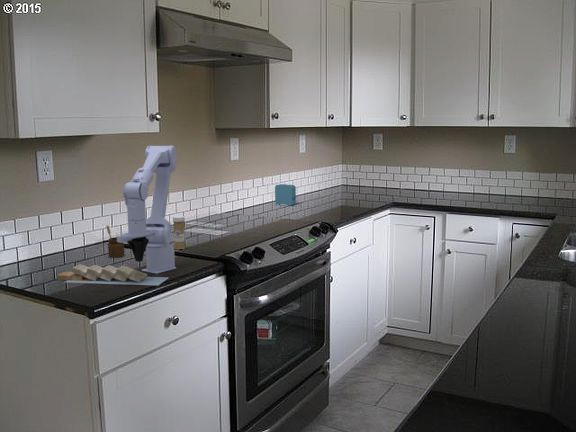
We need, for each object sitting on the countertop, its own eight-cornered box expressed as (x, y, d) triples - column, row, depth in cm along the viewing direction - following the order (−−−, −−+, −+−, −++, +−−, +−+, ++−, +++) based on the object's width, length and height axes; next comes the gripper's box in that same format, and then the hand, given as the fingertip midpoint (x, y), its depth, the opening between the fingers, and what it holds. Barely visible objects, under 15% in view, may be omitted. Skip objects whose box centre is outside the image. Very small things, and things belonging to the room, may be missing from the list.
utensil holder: (120, 258, 242) (118, 227, 240) (105, 257, 243) (103, 226, 242) (127, 254, 248) (125, 224, 246) (112, 254, 249) (110, 224, 247)
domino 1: (88, 272, 213) (64, 271, 214) (81, 275, 208) (57, 275, 209) (89, 276, 213) (65, 276, 214) (82, 280, 208) (57, 280, 209)
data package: (296, 205, 379) (295, 185, 377) (292, 206, 375) (291, 185, 373) (279, 203, 385) (278, 184, 383) (275, 204, 381) (274, 184, 380)
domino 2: (103, 272, 212) (80, 263, 213) (96, 276, 207) (72, 267, 208) (102, 277, 212) (78, 268, 213) (95, 281, 207) (71, 271, 208)
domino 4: (132, 273, 210) (108, 265, 211) (126, 277, 205) (102, 268, 206) (131, 278, 210) (107, 269, 211) (125, 282, 206) (100, 273, 206)
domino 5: (147, 274, 209) (123, 265, 210) (141, 278, 204) (116, 269, 205) (145, 278, 210) (121, 269, 210) (139, 282, 205) (115, 273, 206)
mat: (169, 278, 211) (169, 277, 211) (158, 286, 201) (158, 285, 201) (79, 275, 216) (78, 274, 216) (64, 283, 206) (64, 282, 206)
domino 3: (118, 273, 211) (94, 264, 212) (111, 277, 206) (87, 268, 207) (116, 277, 211) (93, 269, 212) (110, 281, 206) (86, 272, 207)
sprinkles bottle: (173, 250, 255) (172, 217, 253) (174, 248, 259) (173, 215, 257) (185, 250, 256) (184, 216, 253) (185, 247, 260) (184, 215, 258)
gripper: (147, 215, 212) (149, 255, 214) (110, 221, 201) (112, 263, 203) (161, 217, 208) (162, 258, 210) (123, 223, 197) (125, 266, 199)
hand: (139, 261), depth 206 cm, fingers closed
